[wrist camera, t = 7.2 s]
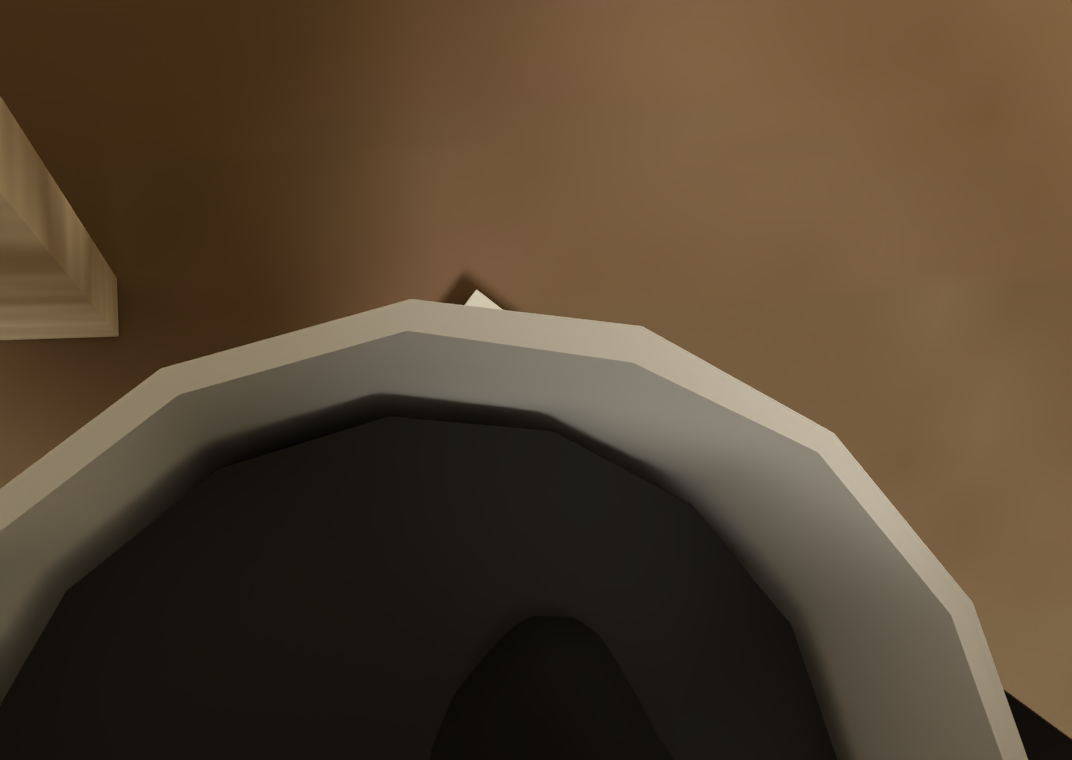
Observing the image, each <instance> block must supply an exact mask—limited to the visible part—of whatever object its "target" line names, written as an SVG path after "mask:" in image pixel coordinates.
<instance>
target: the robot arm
mask: <svg viewBox="0 0 1072 760" xmlns="http://www.w3.org/2000/svg"><path fill="white" fill-rule="evenodd" d="M1003 690H1004V689H1003ZM1004 693H1005V695H1006V698H1007V701H1008V704H1009V707H1010V710H1011V712H1012V715H1013V718H1014V721H1015V724H1016V727H1017V729H1018V732H1019V735H1020V738H1021V741H1022V744H1023V746H1024V749H1025V752H1026V755H1027V758H1028V760H1072V739H1071V738H1069V737H1068V736H1067V735H1065V734H1064V733H1063V732H1061V731H1060V730H1058V729H1057V728H1056V727H1054V726H1053V725H1052V724H1050V723H1049V722H1048V721H1046V720H1045V719H1043V718H1042V717H1041V716H1039V715H1038V714H1037V713H1035V712H1034V711H1033V710H1031V709H1030V708H1028V707H1027V706H1026V705H1024V704H1023V703H1022V702H1020V701H1019V700H1018V699H1016V698H1015V697H1013V696H1012V695H1011V694H1009V693H1008V692H1007V691H1005V690H1004Z"/></svg>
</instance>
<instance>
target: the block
mask: <svg viewBox="0 0 1072 760" xmlns="http://www.w3.org/2000/svg"><path fill="white" fill-rule="evenodd" d="M117 336H119V330H118V295H117V278H116V276H115V275H114V273H113V272H112V270H111V268H110V267H109V265H108V264H107V262H106V261H105V259H104V257H103V256H102V254H101V253H100V251H99V250H98V248H97V247H96V245H95V243H94V242H93V240H92V239H91V237H90V236H89V234H88V232H87V231H86V229H85V228H84V226H83V225H82V223H81V221H80V220H79V218H78V217H77V215H76V214H75V212H74V210H73V209H72V207H71V206H70V204H69V203H68V201H67V199H66V198H65V196H64V195H63V193H62V192H61V190H60V189H59V187H58V185H57V184H56V182H55V181H54V179H53V178H52V176H51V174H50V173H49V171H48V170H47V168H46V167H45V165H44V163H43V162H42V160H41V159H40V157H39V156H38V154H37V152H36V151H35V149H34V148H33V146H32V145H31V143H30V141H29V140H28V138H27V137H26V135H25V134H24V132H23V131H22V129H21V127H20V126H19V124H18V123H17V121H16V120H15V118H14V116H13V115H12V113H11V112H10V110H9V109H8V107H7V105H6V104H5V102H4V101H3V99H2V98H1V96H0V340H23V339H55V338H86V337H117Z"/></svg>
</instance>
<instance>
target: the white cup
mask: <svg viewBox="0 0 1072 760" xmlns="http://www.w3.org/2000/svg"><path fill="white" fill-rule="evenodd" d="M0 760H1028V758H1027V755H1026V752H1025V749H1024V746H1023V744H1022V741H1021V738H1020V735H1019V732H1018V729H1017V727H1016V724H1015V721H1014V718H1013V715H1012V712H1011V710H1010V707H1009V704H1008V701H1007V698H1006V695H1005V693H1004V690H1003V687H1002V684H1001V681H1000V679H999V676H998V673H997V670H996V667H995V664H994V662H993V659H992V656H991V653H990V650H989V647H988V645H987V642H986V639H985V636H984V633H983V630H982V628H981V625H980V622H979V619H978V616H977V613H976V611H975V608H974V605H973V602H972V601H971V600H970V599H969V597H968V596H967V595H966V594H965V593H964V591H963V590H962V589H961V588H960V587H959V585H958V584H957V583H956V582H955V580H954V579H953V578H952V577H951V576H950V574H949V573H948V572H947V571H946V569H945V568H944V567H943V566H942V565H941V563H940V562H939V561H938V560H937V558H936V557H935V556H934V555H933V554H932V552H931V551H930V550H929V549H928V547H927V546H926V545H925V544H924V543H923V541H922V540H921V539H920V538H919V536H918V535H917V534H916V533H915V532H914V530H913V529H912V528H911V527H910V525H909V524H908V523H907V522H906V521H905V519H904V518H903V517H902V516H901V515H900V513H899V512H898V511H897V510H896V508H895V507H894V506H893V505H892V504H891V502H890V501H889V500H888V499H887V497H886V496H885V495H884V494H883V493H882V491H881V490H880V489H879V488H878V486H877V485H876V484H875V483H874V482H873V480H872V479H871V478H870V477H869V475H868V474H867V473H866V472H865V471H864V469H863V468H862V467H861V466H860V464H859V463H858V462H857V461H856V460H855V458H854V457H853V456H852V455H851V453H850V452H849V451H848V450H847V449H846V447H845V446H844V445H843V444H842V443H841V441H840V440H839V439H838V438H837V436H836V435H835V434H834V433H833V432H831V431H829V430H827V429H826V428H824V427H822V426H820V425H818V424H817V423H815V422H813V421H811V420H809V419H808V418H806V417H804V416H802V415H800V414H799V413H797V412H795V411H793V410H791V409H790V408H788V407H786V406H784V405H782V404H781V403H779V402H777V401H775V400H774V399H772V398H770V397H768V396H766V395H765V394H763V393H761V392H759V391H757V390H756V389H754V388H752V387H750V386H748V385H747V384H745V383H743V382H741V381H739V380H738V379H736V378H734V377H732V376H730V375H729V374H727V373H725V372H723V371H721V370H720V369H718V368H716V367H714V366H713V365H711V364H709V363H707V362H705V361H704V360H702V359H700V358H698V357H696V356H695V355H693V354H691V353H689V352H687V351H686V350H684V349H682V348H680V347H678V346H677V345H675V344H673V343H671V342H669V341H668V340H666V339H664V338H662V337H661V336H659V335H657V334H655V333H653V332H652V331H650V330H648V329H646V328H644V327H643V326H636V325H627V324H619V323H610V322H602V321H593V320H585V319H576V318H568V317H559V316H551V315H542V314H534V313H525V312H517V311H508V310H500V309H491V308H483V307H474V306H466V305H457V304H449V303H440V302H432V301H423V300H415V299H409V300H405V301H402V302H398V303H395V304H391V305H387V306H384V307H380V308H377V309H373V310H369V311H366V312H362V313H359V314H355V315H351V316H348V317H344V318H341V319H337V320H333V321H330V322H326V323H323V324H319V325H315V326H312V327H308V328H305V329H301V330H297V331H294V332H290V333H287V334H283V335H279V336H276V337H272V338H269V339H265V340H261V341H258V342H254V343H250V344H247V345H243V346H240V347H236V348H232V349H229V350H225V351H222V352H218V353H214V354H211V355H207V356H204V357H200V358H196V359H193V360H189V361H186V362H182V363H178V364H175V365H171V366H168V367H164V368H161V369H159V370H158V371H157V372H155V373H154V374H153V375H151V376H150V377H149V378H147V379H146V380H145V381H143V382H142V383H141V384H139V385H138V386H137V387H135V388H134V389H133V390H131V391H130V392H129V393H127V394H126V395H125V396H123V397H122V398H121V399H119V400H118V401H117V402H115V403H114V404H113V405H111V406H110V407H109V408H107V409H106V410H105V411H103V412H102V413H101V414H99V415H98V416H97V417H95V418H94V419H93V420H91V421H90V422H89V423H87V424H86V425H85V426H83V427H82V428H81V429H79V430H78V431H77V432H75V433H74V434H73V435H71V436H70V437H69V438H67V439H66V440H65V441H63V442H62V443H61V444H59V445H58V446H57V447H55V448H54V449H53V450H51V451H50V452H49V453H47V454H46V455H45V456H43V457H42V458H41V459H39V460H38V461H37V462H35V463H34V464H33V465H31V466H30V467H29V468H27V469H26V470H25V471H23V472H22V473H21V474H19V475H18V476H17V477H15V478H14V479H13V480H11V481H10V482H9V483H7V484H6V485H5V486H3V487H2V488H1V489H0Z"/></svg>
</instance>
